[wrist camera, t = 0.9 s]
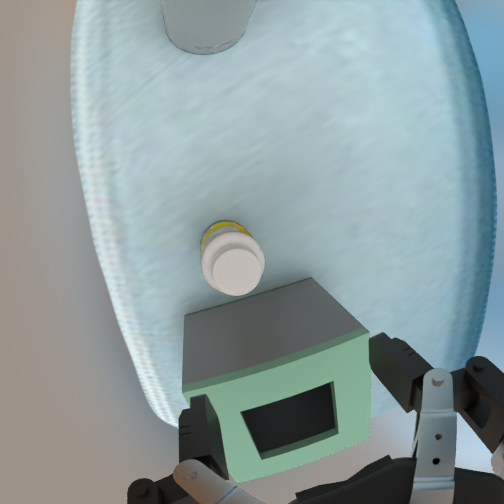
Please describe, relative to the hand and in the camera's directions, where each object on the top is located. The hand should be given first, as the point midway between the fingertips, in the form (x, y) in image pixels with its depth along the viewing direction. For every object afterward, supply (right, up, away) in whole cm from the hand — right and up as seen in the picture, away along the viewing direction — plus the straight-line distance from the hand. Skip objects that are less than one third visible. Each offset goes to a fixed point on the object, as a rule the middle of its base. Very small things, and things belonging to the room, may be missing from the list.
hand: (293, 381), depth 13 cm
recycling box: (0, -7, +25) cm, 26 cm away
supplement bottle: (-5, +7, +21) cm, 22 cm away
